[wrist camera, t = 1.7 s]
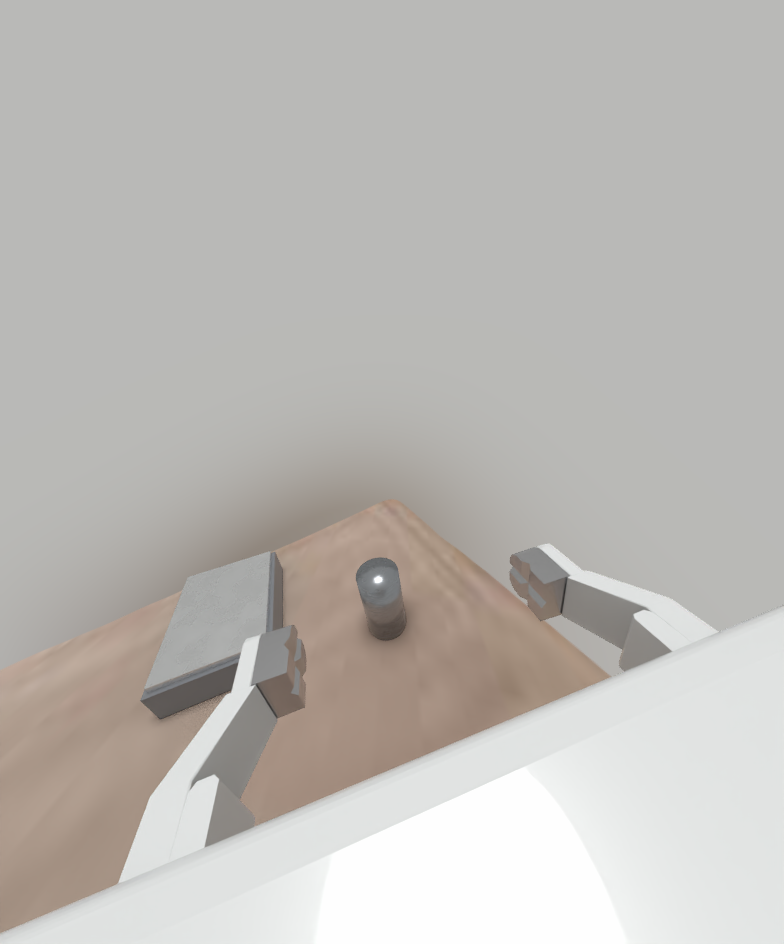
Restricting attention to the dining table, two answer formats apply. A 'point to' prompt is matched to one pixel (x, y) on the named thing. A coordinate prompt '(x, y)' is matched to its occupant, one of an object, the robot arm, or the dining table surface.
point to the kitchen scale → (214, 632)
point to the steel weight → (382, 598)
